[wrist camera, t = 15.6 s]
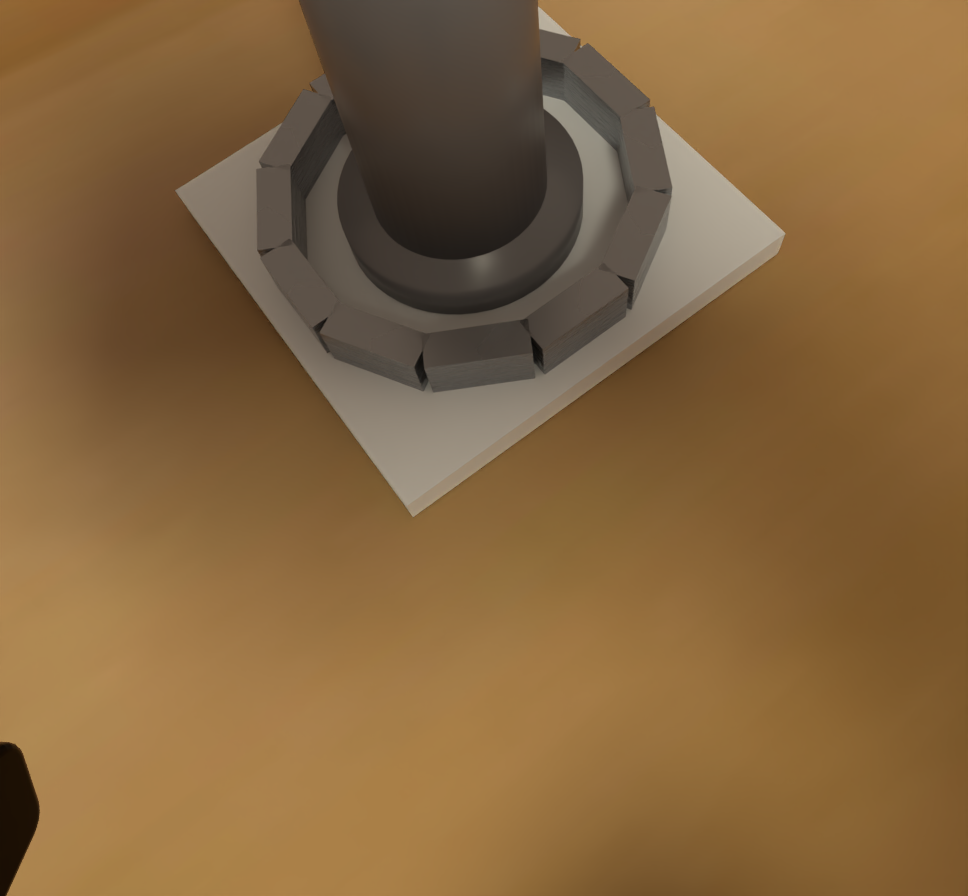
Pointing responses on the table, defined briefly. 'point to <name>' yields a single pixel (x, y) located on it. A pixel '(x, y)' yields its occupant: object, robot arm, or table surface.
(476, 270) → the pipe fitting
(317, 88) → the flange plate
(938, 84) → the table surface
